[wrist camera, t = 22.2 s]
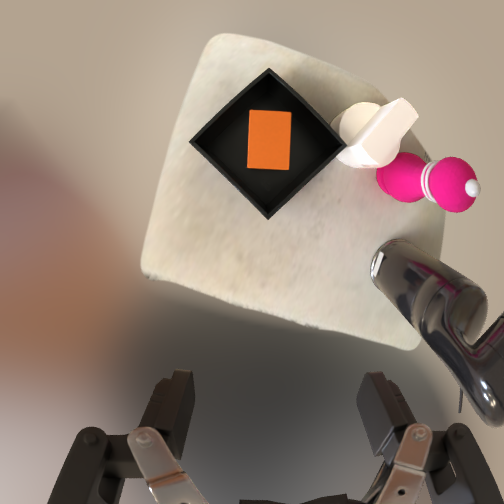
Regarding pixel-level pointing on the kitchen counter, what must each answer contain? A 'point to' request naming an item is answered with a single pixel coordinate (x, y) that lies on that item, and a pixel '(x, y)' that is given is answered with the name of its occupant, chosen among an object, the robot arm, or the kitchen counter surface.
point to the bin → (237, 134)
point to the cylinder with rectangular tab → (373, 132)
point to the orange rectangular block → (269, 140)
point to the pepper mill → (430, 181)
